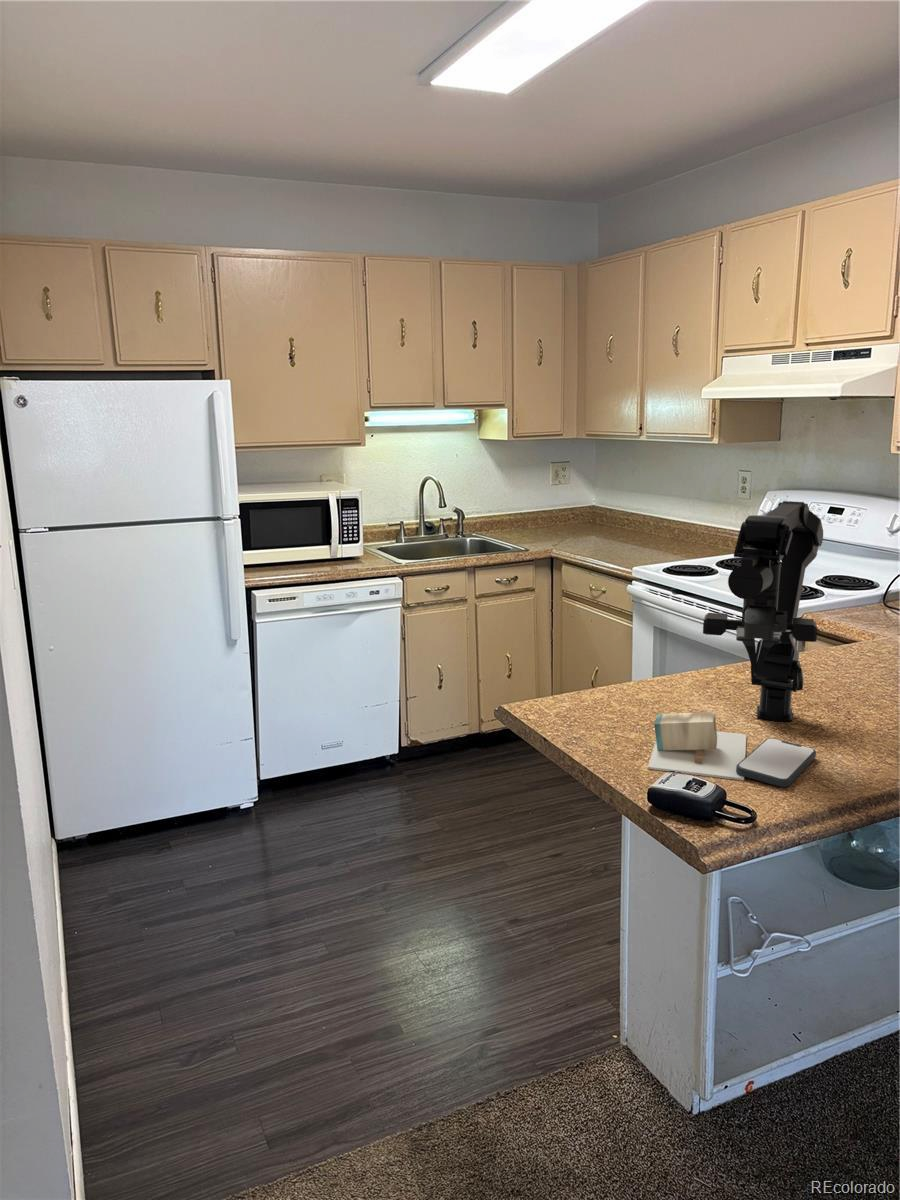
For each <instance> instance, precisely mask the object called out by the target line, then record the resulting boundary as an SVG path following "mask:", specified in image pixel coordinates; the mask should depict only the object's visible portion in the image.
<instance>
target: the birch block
mask: <svg viewBox="0 0 900 1200" xmlns="http://www.w3.org/2000/svg"><path fill="white" fill-rule="evenodd" d="M653 724H654V733H655V734H654V735H655V742H657V751H661V750H703V749H716V747H717V740H718V737H717V731H718V729H717V720H716V713H715V711H711V712H709V711H706V712H703V711H702V712H688V713H687V712H683V713H680V712H679V713H659V714H656V717H655V720H654V722H653Z"/></svg>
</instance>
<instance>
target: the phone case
mask: <svg viewBox="0 0 900 1200" xmlns="http://www.w3.org/2000/svg"><path fill="white" fill-rule="evenodd" d="M816 757H817V751H816V749H814V748H813V747H809V746H805V745H802V744H797V743H794V742H790V741H787V740H782V739H778V738H774V737H773V738H772V737H770V738H769V737H767V738H766V739H765V740H764V741H763V742H761V743H760V744H759V745H757V746H756V748H754V749H753V750H752V751H751V752H750V753H748V755H746V756H745V758H744V759H743V760H742V761H741V762H740V763H739V764H738V765H737V766H736V772H737V774H739V775H741V776H744V778H745V777H746V778H748V779H752V780H756V781H758V782H763V783H766V784H769V785H772V786H777V787H781V788H787V787H789V786H790V785H791V784H792V783H793V782H794V781H795V779H797V778H798V777H799V775H801V774H802V772H804V770H805V769H806V768H807V767H808V766H809V765H810V764H811V762H813V761H814V759H816Z"/></svg>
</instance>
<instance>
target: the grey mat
mask: <svg viewBox="0 0 900 1200" xmlns="http://www.w3.org/2000/svg"><path fill="white" fill-rule="evenodd" d="M717 737H718V740H717V747H716V749H703V750H661V751H657V742H656V741H655V742H654V745H653V749H652V752H651V755H650V758H649V762H648V765H647V769H648V770H654V771H663V772H669V771H675V772H674V773H677V772H681V773H680V774H686V775H697V776H703V777H712V778H718V779H719V778H721V779H727V780H728V779H729V780H735V781H743V782H744V781H745V776H741V775H739V774H737V772H736V766H737V765H738V764H739V763H740V762H741V761H742V760H743V759H744V758H745V757H746V752H747V751H746V750H747V749H746V748H747V734H746V733H735V732H726V731H718V730H717Z"/></svg>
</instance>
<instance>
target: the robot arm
mask: <svg viewBox="0 0 900 1200" xmlns="http://www.w3.org/2000/svg"><path fill="white" fill-rule="evenodd" d="M823 540H824V529H823V524H822V520H821V518H820V517H818V516H817V514H815V513H813V512H812V511H811V510H810V508H809V504H808V503H805V502H804V501H791V500H789V501H787V500H783V501H782V502H781V501H779V503H778V504H777V506H776V507H775V508H774V509H772V510H771V511H769V512H768V513H767V514H765V515H764V514H763V515H762V514H761V515H758V514H757V515H755V514H753V515H748V516H747V517H746V518H745V520H744V521H743V522H742V523H741V526H740V530H739V533H738V537H737V540H736V545H735V548H734V552H733V558H740V559H741V560H740V565H738V566H736V567H734V568H733V569H732V571H731V572H730V573H729V576H728V579H727V585H728V588H729V590H730V591H731V593H732V594H733V595H734V596H736V597H737V598H738V599H742V600H743V601H742V602H743V605H742V611H741V613H742V614H741V619H734V618H733V619H729V618H728V616H729V615H728V613H721V612H720V613H718V612H708V613H706V614H705V615H704V619H703V625H702V634H703V635H706V636H708V635H709V636H722V635H723V634H725V633H727V630H728V631H735V632H736V639H735V640H736V641H738V642H742V644H743V645H744V647H745V648H744V649H746V652H747V654H748V658H749V662H750V677H751V678H750V680H751V686H760V692H759V693H760V696H759V705H757V706H756V719H758V720H759V719H760V720H769V721H770V720H771V721H778V722H780V721H781V722H790V723H791V722H793V721H794V720H793V718H794V717H793V709H792V708H791V707H792V706H791V705H792V697H793V696H792V693H793V692H795V693H797V691H803V689H804V672H803V669H802V665H801V662H800V660H799V657H800V655H799V654H800V653H799V651H798V649H797V647H796V644H795V642H794V640H795V641H797V642H807V643H809V642H811V643H815V642H817V637H818V626H817V622H816V621H815V620H814V618H803V617H802V618H799V617H798V612H799V606H800V602H801V595H802V590H803V583H804V579H805V573H806V569H807V567H808V566H809V565H810V564H811V563H812V562H813V561H814V560H815V559H816V557H817V555H818V550H819V547H822V545H823ZM756 639H759V641H758V642H757V645H756V642H755V641H756Z"/></svg>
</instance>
